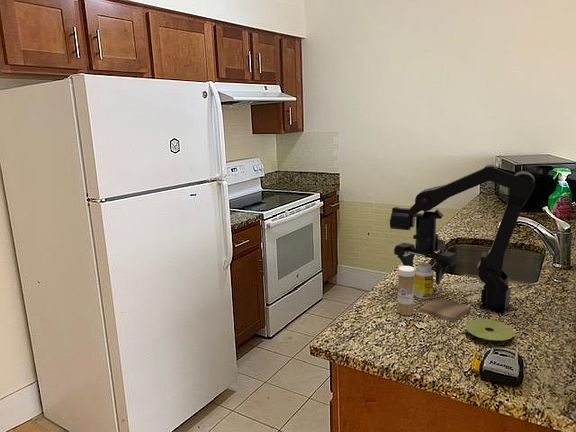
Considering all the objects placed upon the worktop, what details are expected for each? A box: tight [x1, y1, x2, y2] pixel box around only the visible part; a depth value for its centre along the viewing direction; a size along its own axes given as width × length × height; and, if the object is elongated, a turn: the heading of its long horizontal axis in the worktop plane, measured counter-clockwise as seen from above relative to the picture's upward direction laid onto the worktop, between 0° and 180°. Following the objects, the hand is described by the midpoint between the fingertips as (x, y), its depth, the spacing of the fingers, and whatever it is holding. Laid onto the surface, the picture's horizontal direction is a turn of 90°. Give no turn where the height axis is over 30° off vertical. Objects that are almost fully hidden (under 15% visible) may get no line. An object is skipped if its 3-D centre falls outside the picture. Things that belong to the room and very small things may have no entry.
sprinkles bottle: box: [396, 265, 416, 316], centre depth 121 cm, size 5×5×14 cm
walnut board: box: [419, 297, 472, 323], centre depth 123 cm, size 10×10×1 cm
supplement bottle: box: [414, 262, 435, 300], centre depth 132 cm, size 6×6×10 cm
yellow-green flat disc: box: [464, 318, 516, 341], centre depth 108 cm, size 11×11×2 cm
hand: (424, 280), depth 132 cm, fingers open, 9 cm apart
